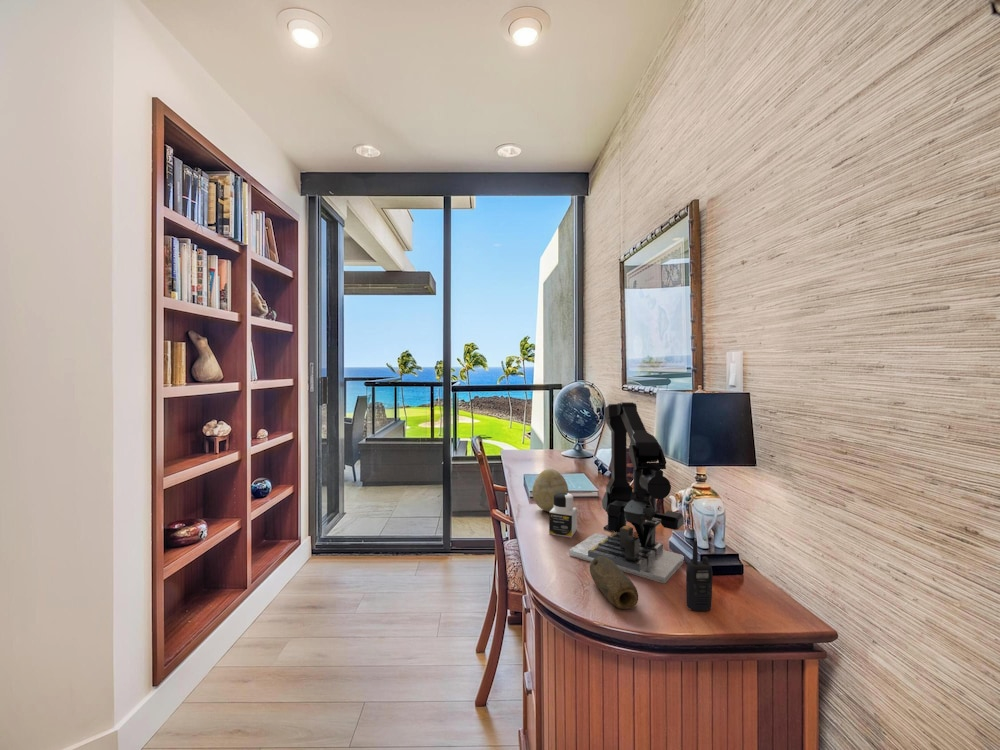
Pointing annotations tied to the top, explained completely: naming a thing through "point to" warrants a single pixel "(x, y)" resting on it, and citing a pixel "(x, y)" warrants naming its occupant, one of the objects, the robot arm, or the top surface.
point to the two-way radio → (698, 582)
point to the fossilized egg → (548, 488)
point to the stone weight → (613, 583)
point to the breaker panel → (649, 571)
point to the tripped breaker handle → (625, 534)
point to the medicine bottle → (563, 516)
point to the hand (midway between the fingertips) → (643, 546)
